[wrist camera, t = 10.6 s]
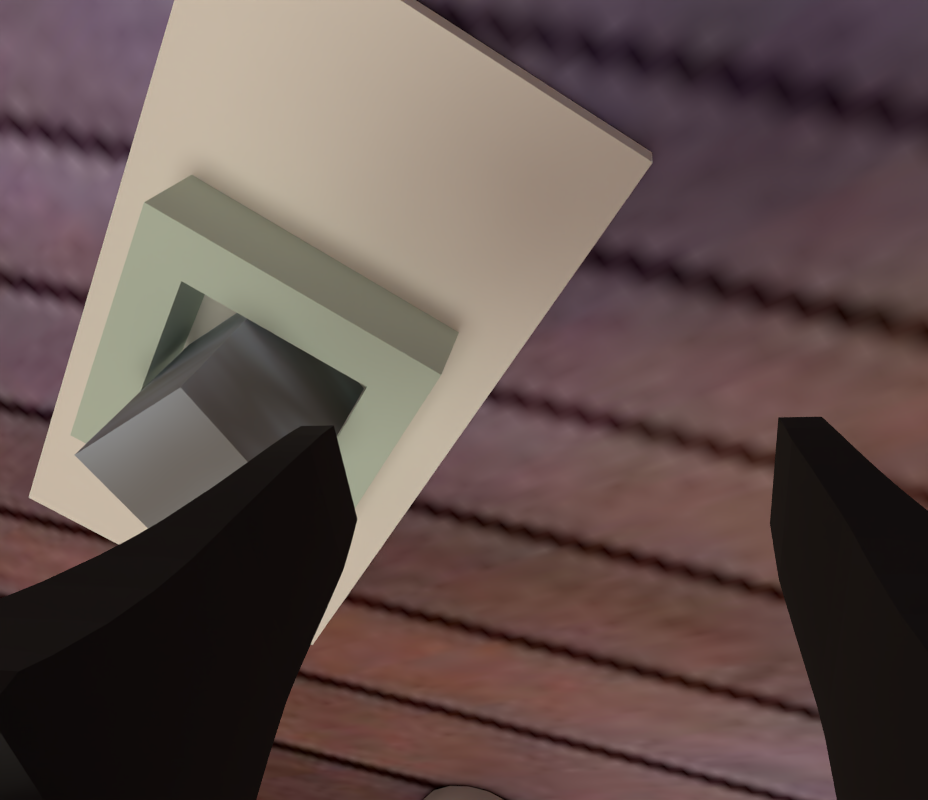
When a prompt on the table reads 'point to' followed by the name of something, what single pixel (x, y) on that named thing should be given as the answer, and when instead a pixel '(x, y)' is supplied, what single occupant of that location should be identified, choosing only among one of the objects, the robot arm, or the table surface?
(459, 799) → the bottle
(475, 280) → the board with square socket
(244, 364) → the post
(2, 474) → the table surface
